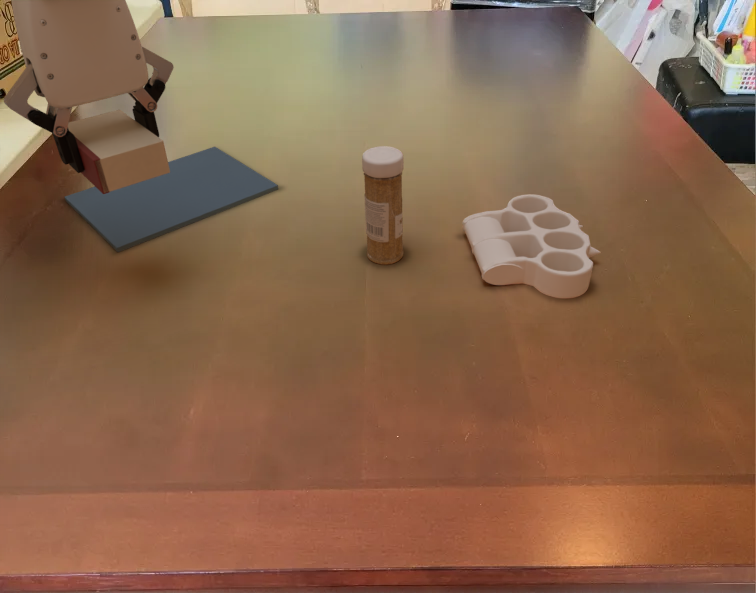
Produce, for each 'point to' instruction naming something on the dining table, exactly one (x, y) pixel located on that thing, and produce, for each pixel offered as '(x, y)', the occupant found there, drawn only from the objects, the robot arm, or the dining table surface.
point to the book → (118, 151)
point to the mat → (170, 198)
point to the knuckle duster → (532, 247)
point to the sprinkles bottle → (383, 203)
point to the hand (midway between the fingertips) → (114, 155)
